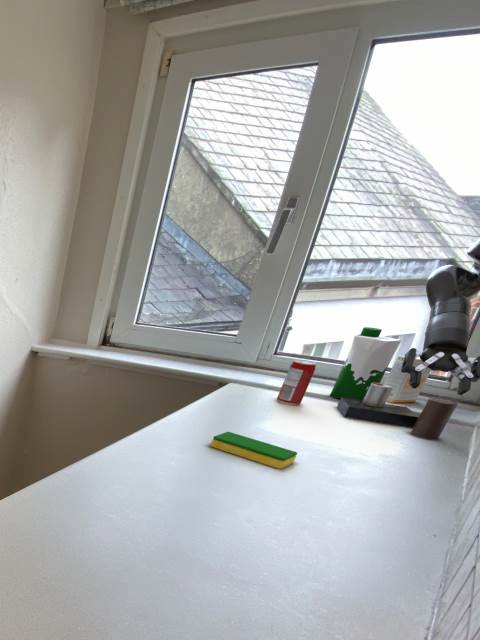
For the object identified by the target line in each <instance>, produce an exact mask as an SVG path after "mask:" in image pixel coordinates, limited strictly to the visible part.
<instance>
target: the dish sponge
mask: <svg viewBox="0 0 480 640" xmlns="http://www.w3.org/2000/svg"><path fill="white" fill-rule="evenodd" d="M210 447H211V448H214V449H217V450H221V451H223V452H226V453H230V454H233V455H236V456H239V457H242V458H245V459H248V460H251V461H255V462H257V463H260V464H264V465H267V466H270V467H271V468H276V469H280V470H281V469H283V468H285V467H287V466H289V465H291V464H293V463H294V462H295V460H296V459H297V455H298V452H297V451H294V450H291V449H287V448H284V447H281V446H278V445H274V444H271V443H268V442H264V441H261V440H258V439H255V438H251V437H249V436H245V435H241V434H238V433H235V432H232V431H226V432H223V433H220V434H217V435H215V436H213V438H212V440H211V443H210Z"/></svg>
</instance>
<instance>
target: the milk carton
mask: <svg viewBox="0 0 480 640" xmlns="http://www.w3.org/2000/svg"><path fill="white" fill-rule="evenodd" d="M382 331H383V329H381V328H376V327H365V326H363V328H362V330H361V332H360V334H356V335H354V336H353V340H352V343H351V347H350V349H349V352H348V354H347V356H346V358H345V360H344V363H343V365H342V366H341V369H340V371H339V374H338V375H337V378H336V381H335V383H334V385H333V387H332V389H331V392H330V394H329V397H332V398H337V399H339V400H340V399H341V397H343V398H350V399H356V400H364V398H365V396H366V394H367V392H368V389H369V387H370V385H371V383H372V382H374V383H382V380H383V378H384V376H385V374H386V371H387V369H388V367H389V366H390V363H391V361H392V359H393V357H394V355H395V353H396V351H397V349H398V347H399V346H400V344H401V343H402V339H398V338H393V337H390V336H383V335H381V333H382Z"/></svg>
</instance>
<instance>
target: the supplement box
mask: <svg viewBox="0 0 480 640" xmlns="http://www.w3.org/2000/svg"><path fill="white" fill-rule="evenodd" d="M404 357H405V354H398V355H397V357H396V359H395V361H394V363H393V365H392V367H391V369H390V371H389V373H388V375H387V377H386V379H385V381H384V384H388V385H391V386H393V389H392V391H391V393H390V395H389V397H388V399H387V401H386V402H389V403H393V404H394V403H415V402H416V401H417V399H418V397H419V395H420V393H421V392H422V389H423V388H424V385H426V382H427V380H428V379H429V376H430V374H431V372H432V370H431V369H429V368H427V369H426V370H424V371H422V375H421V381H420V385H419V386H418V387H417V388H416V389H415V388H411V387H412V386H410V385H409V381H410V374H409V373H403V372H401V368H402V364H403V360H404ZM422 363H424V362H423V361H422V360H421V359H420V357H417V358H416V359H414V362H413V366H414V367H418V366H419V365H421V364H422Z"/></svg>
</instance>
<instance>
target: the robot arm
mask: <svg viewBox="0 0 480 640" xmlns="http://www.w3.org/2000/svg"><path fill="white" fill-rule="evenodd" d="M466 255H467V256H468V257H469V258H470V259H471V260H472V261H473V264H472V266H471V268H470V269H468V268H465V267H463V266H460V265H456V264H445V265H442V266H440V267H438V268H436V269H434V271H433V272H432V273H430V275H429V276H428V278H427V279H426V283H425V294H426V299H427V303H428V305H429V308H430V312H429V319H428V323H427V326H426V329H425V332H424V340H423V347H422V351H421V350H418V349H417V348H415V347H411V348H409V350H408V351H407V352H406V353H405V354H404V355H405V357H404V360H403V364H402V368H401V372H403V373H409V374H410V381H409V385H410V386H412V387H411V388H415V389H416V388H417V387H418V386H419V385H420V381H421V375H422V371H424V370H426V369H427V368H429V369H431V371H436V372H439V371H440V372H443V373H450V374H451V375H452V377H455V378H457V380H459V382H458V387H457V395H458V396H463V395H464V394H467V393H468V392H469V391H470V390H471V388H472V387H471V386H472V383H476V382H479V380H480V355H478V356H477V357H472V356H468V355H467V351H468V346H469V339H470V333H471V332H470V331H471V320H470V318H471V313H472V301H471V300H470V298H472V297H474V296H476V295H477V294H478V293H479V292H480V237H479V238H478V239H477V240H476V241H475V242H474V243H472V245H471V246H469V248H467V250H466ZM417 357H420V359H421V360H422V361H423V362H424V363H422V364H421V365H419V366H418V367H414V366H413V362H414V359H416V358H417ZM467 364H468V365H467ZM457 368H458V369H457ZM469 368H470V370H469Z"/></svg>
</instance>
